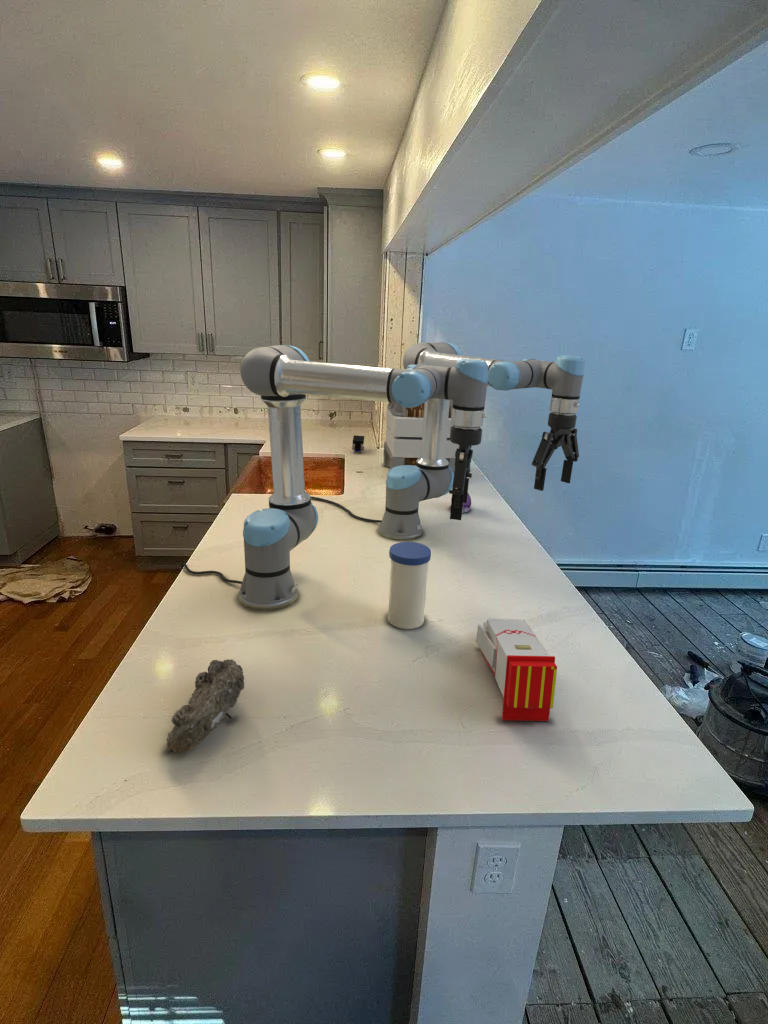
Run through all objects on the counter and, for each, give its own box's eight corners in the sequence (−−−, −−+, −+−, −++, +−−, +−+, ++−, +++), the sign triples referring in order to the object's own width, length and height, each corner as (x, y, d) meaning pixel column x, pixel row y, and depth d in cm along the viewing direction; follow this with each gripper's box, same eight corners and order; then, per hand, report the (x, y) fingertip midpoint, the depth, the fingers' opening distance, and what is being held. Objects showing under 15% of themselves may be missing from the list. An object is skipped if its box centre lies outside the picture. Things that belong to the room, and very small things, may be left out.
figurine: (457, 515, 220) (461, 478, 215) (443, 507, 229) (446, 471, 224) (477, 512, 224) (481, 475, 219) (462, 504, 233) (466, 469, 228)
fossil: (192, 660, 117) (244, 628, 112) (224, 691, 120) (276, 661, 115) (142, 746, 98) (202, 712, 93) (182, 779, 101) (242, 748, 96)
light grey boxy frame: (382, 463, 289) (386, 382, 275) (445, 464, 293) (451, 384, 279) (390, 482, 257) (394, 392, 243) (460, 483, 261) (468, 394, 247)
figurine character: (364, 456, 305) (364, 447, 319) (364, 443, 302) (364, 434, 315) (351, 456, 305) (352, 446, 318) (351, 443, 302) (352, 434, 315)
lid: (380, 555, 139) (380, 548, 138) (408, 545, 146) (409, 538, 145) (411, 569, 132) (411, 562, 132) (439, 557, 139) (439, 551, 139)
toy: (523, 604, 135) (566, 662, 106) (518, 656, 138) (559, 727, 109) (472, 603, 135) (501, 661, 105) (468, 655, 138) (496, 726, 108)
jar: (380, 618, 145) (383, 550, 139) (404, 606, 151) (409, 541, 145) (406, 633, 139) (411, 562, 133) (431, 620, 145) (436, 552, 139)
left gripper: (478, 438, 123) (469, 529, 130) (485, 418, 146) (477, 497, 153) (444, 435, 124) (436, 525, 132) (456, 416, 147) (449, 494, 155)
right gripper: (548, 419, 148) (537, 496, 155) (598, 411, 163) (586, 482, 171) (525, 414, 153) (515, 489, 160) (575, 407, 169) (564, 476, 176)
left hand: (458, 510), depth 142 cm, fingers open, 13 cm apart
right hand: (552, 485), depth 166 cm, fingers open, 13 cm apart
